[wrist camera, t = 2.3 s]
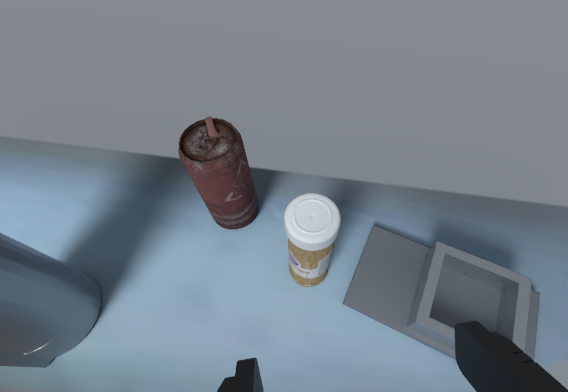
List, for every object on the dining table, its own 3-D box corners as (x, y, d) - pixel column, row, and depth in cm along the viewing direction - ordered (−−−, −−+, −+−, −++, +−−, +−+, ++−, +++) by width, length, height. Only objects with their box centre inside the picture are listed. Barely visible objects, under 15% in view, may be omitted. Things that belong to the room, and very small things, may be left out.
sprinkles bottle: (281, 270, 35) (271, 218, 24) (305, 242, 37) (307, 181, 25) (312, 296, 33) (317, 254, 22) (336, 265, 35) (353, 211, 24)
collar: (502, 373, 28) (522, 373, 25) (405, 326, 30) (415, 322, 28) (513, 286, 32) (531, 278, 29) (427, 251, 34) (437, 241, 32)
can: (251, 184, 42) (232, 106, 30) (264, 223, 38) (247, 153, 27) (209, 196, 41) (171, 121, 29) (217, 237, 38) (179, 172, 26)
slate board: (524, 393, 28) (531, 393, 27) (342, 303, 33) (343, 301, 32) (533, 294, 32) (539, 292, 32) (372, 228, 37) (373, 225, 36)
